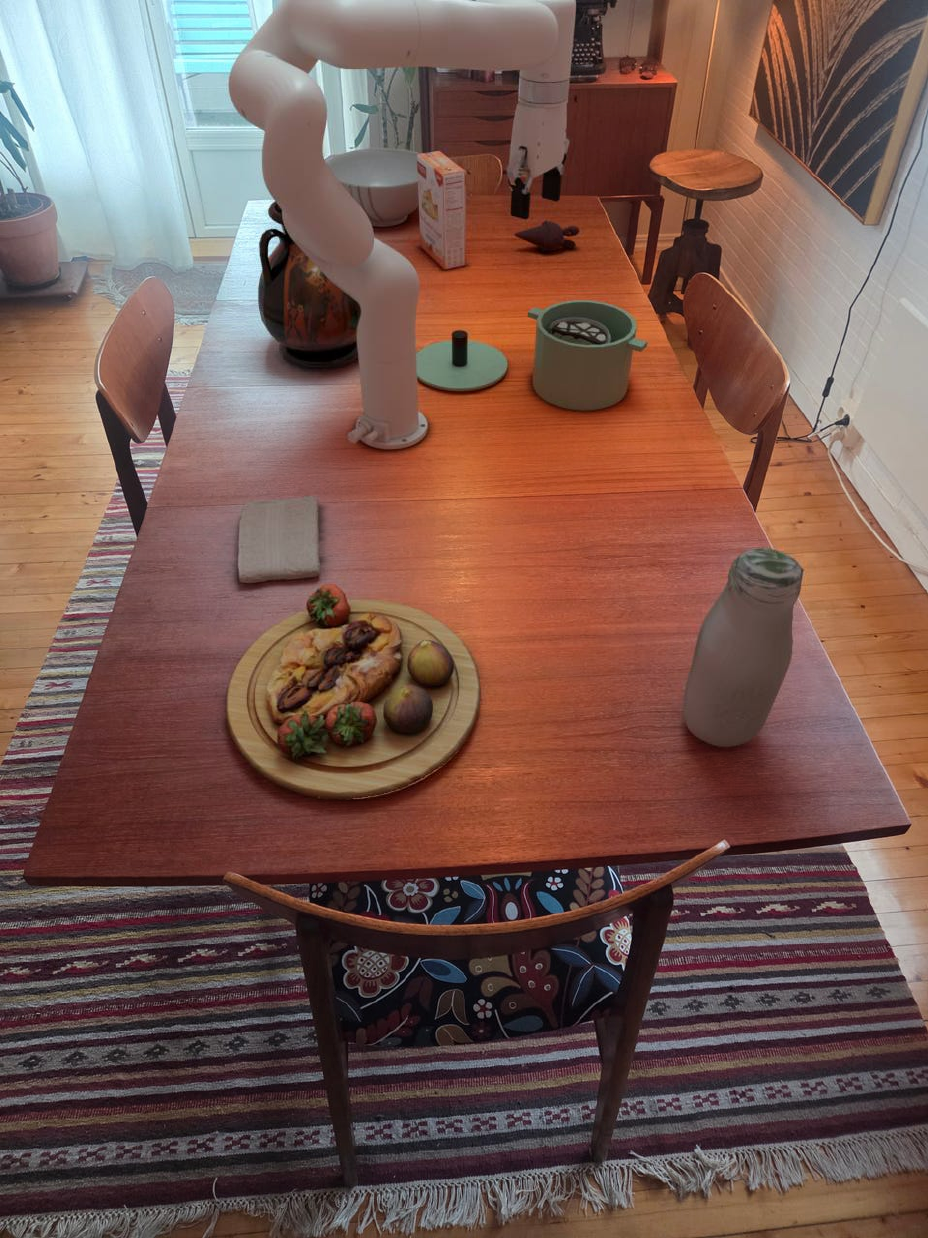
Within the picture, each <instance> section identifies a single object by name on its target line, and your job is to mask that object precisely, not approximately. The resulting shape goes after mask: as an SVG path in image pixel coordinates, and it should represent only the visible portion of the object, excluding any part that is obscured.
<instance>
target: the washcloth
mask: <svg viewBox="0 0 928 1238" xmlns="http://www.w3.org/2000/svg"><path fill="white" fill-rule="evenodd" d="M319 535H320V533H319V499H318V498H317V497H315V496H311V495H304V496H302V497H295V498H294V497H293V498H277V499H276V498H275V499H274V498H272V499H258V500H254V499H253V500H250V501H248V502H246V503H245V504H243V506H242V510H241V516H240V519H239V521H238V541H237V547H238V554H237V555H238V556H237V569H238V580H239V583H244V584H252V583H253V584H254V583H260V582H261V583H265V582H268V581H272V580H273V581H276V580H287V581H290V580H299V579H307V578H315V577H319V576H320V575H321V574H322V573H321V569H320V568H321V561H320V540H319V539H320V537H319Z"/></svg>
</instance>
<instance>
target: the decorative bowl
mask: <svg viewBox="0 0 928 1238" xmlns="http://www.w3.org/2000/svg"><path fill="white" fill-rule="evenodd" d="M418 154H421V153H420V152H417V151H413V150H409V149H404V148H395V147H371V148H369V147H368V148H363V149H355V150H351V151H347V152H343V153H341V154H338V155H336V156H333V157H332V158H331V159H330V160H328V161H327V162H326V164H327V165H328V167H329V168H330V170H331V171H332V173H333V174H334V175H335V177H336V178H337V179H338V181H339V182H340V183H341V184H342V185H343V187H344V188H345V189H346V190H347V192H348V193H349V194H350V195H351V196H352V198H353V199H354V200H355V201H356V202H357V203H358V204H359V205H360V206H361V208H362V209H363V210H364V212H365V213H366V214H367V216H368V218H369V220H370V222H371V225H372V227H379V228H383V227H384V228H385V227H393V226H397V225H400V224H402V223H403V222H406V220H407V219H408V215H410V214H412V213H413V212H414V211H415V210H417V209H418V208H419V194H418V169H417V155H418Z"/></svg>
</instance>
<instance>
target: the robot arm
mask: <svg viewBox="0 0 928 1238" xmlns="http://www.w3.org/2000/svg"><path fill="white" fill-rule="evenodd" d="M576 12H577V1H576V0H281V1H280V2H279V4H278V5H277V6H276V7H275V9H274V10H273V11H272V13H271V14H269V16H268V18H267V19H266V20H265V21H264V22H263V24H262V25H261V26H260V27H259V29H257V31H256V32H255V34H254V35H253V36H252V37H251V38H250V40H249V41H248V42H247V44H246V45H245V46H244V47H243V49H242V50H241V51H240V53H239V54H238V56H237V57H236V58H235V60H234V62H233V65H232V66H231V69H230V72H229V76H228V84H227V85H228V86H227V87H228V93H229V98H230V101H231V103H232V105H233V107H234V109H235V110H236V111H237V113H238V114H239V115H240V116H241V117H242V118H243V119H244V120H245V121H247V122H248V123H249V124H251V125H253V126H254V127H257V128H258V129H260V130H262V131H263V132H264V135H263V141H262V147H261V171H262V172H261V173H262V179H263V183H264V185H265V188H266V189H267V191H268V193H269V195H270V196H271V198H272V199H273V200H274V202H275V201H276V203H277V204H278V205H279V206H280V208H281V209H282V217H283V222H284V226H285V228H286V230H287V232H288V234H289V235H290V237H291V238H292V240H293V241H294V242H295V243H296V244H297V245H298V246H299V248H300V249H301V250H302V251H303V252H304V253H305V254H306V255H307V256H308V257H309V258H310V259H311V260H312V262H313V263H314V264H315V265H316V266H317V267H318V268H319V269H320V270H321V271H322V272H323V273H324V274H325V275H326V276H327V277H328V278H329V279H330V280H331V281H332V282H333V283H334V284H335V285H336V286H337V287H339V288H340V289H341V290H342V291H344V292H345V293H346V294H348V295H349V296H351V297H352V298H353V299H354V300H355V301H357V302H358V303H359V305H360V308H361V316H360V319H359V322H358V326H357V350H358V357H357V358H358V359H357V360H358V368H359V381H360V391H361V392H360V393H361V404H362V413H361V414H360V415H359V417H358V418H357V420H356V422H355V428H354V429H353V430H351V431H350V432H348V433H347V436H346V438H347V440H348V441H349V442H350V443H351V444H356V443H357V442H359V441H361V442H362V443H364V444H365V445H367V446H369V447H372V448H375V449H378V450H379V449H380V450H400V449H401V450H402V449H405V448H408V447H411V446H415V445H416V444H417V443H419V442H421V441H422V440H423V439H424V438H425V437H426V436H427V433H428V429H429V428H428V427H429V425H428V419H427V418H426V416H425V415H424V414H423V413H422V412H421V411H419V391H418V378H417V362H416V354H417V345H416V344H417V343H416V318H417V309H418V303H419V297H420V279H419V276H418V272H417V271H416V268H415V267H414V265H413V264H412V263H411V262H410V261H409V259H407V257H405V256H404V254H402V253H400V252H399V251H397V250H396V249H395V248H393V247H391V246H389V245H388V244H387V243H384V242H382V241H381V240H380V239H379V238H376V237H375V234H374V228H373V226H372V225H371V222H370V220H369V218H368V216H367V214H366V213H365V212H364V210H363V209H362V208H361V206H360V205H359V204H358V203H357V202H356V201H355V200H354V199H353V198H352V196H351V195H350V194H349V193H348V192H347V190H346V189H345V188H344V187H343V185H342V184H341V183H340V182H339V181H338V179H337V178H336V177H335V175H334V174H333V173H332V171H331V170H330V168H329V167H328V165H327V162H326V160H325V158H324V153H323V147H324V146H323V145H324V138H325V133H326V127H327V120H328V108H327V101H326V98H325V94H324V92H323V90H322V89H321V86H320V84H319V83H318V81H316V80H315V79H314V78H313V77H312V76H311V75H310V74H311V73H310V72H311V71H312V70H313V68H314V67H315V66H316V64H317V63H318V62H319V61H320V62H323V63H325V64H328V65H329V66H331V67H334V68H337V69H341V70H369V69H370V70H371V69H372V70H373V69H390V68H391V69H392V68H395V69H396V68H419V67H420V68H423V67H424V68H425V67H426V68H427V67H428V68H434V69H435V68H436V69H448V70H449V69H450V70H451V69H452V70H453V69H454V70H471V71H472V70H473V71H475V70H476V71H488V72H489V71H490V72H495V71H496V72H506V71H507V72H508V71H519V83H518V96H517V97H518V102H517V104H516V108H515V113H514V117H513V123H512V124H513V125H512V130H511V138H510V139H511V140H510V147H509V148H510V150H509V160H508V161H509V164H508V165H507V166H506V174H507V181H508V185H509V191H511V196H510V197H511V198H510V215H511V217H514V218H518V219H521V220H528V219H529V218H530V209H531V208H530V207H531V192H529V191H530V188H531V185H532V183H533V180H534V178H537V177H539V176H541V175H542V185H541V186H542V187H541V198H542V199H545V200H547V201H553V202H559V201H560V199H561V191H562V189H561V188H562V178H563V174H564V171H565V168H564V165H565V162H566V160H567V153H568V149H569V146H570V139H569V138H567V121H568V118H567V117H568V109H567V108H568V107H567V106H568V105H567V104H568V102H569V92H570V80H571V70H572V59H573V47H574V37H575V26H576V16H577V15H576ZM521 177H522V178H525V180H524V181H523V179H522V178H521Z"/></svg>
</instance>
